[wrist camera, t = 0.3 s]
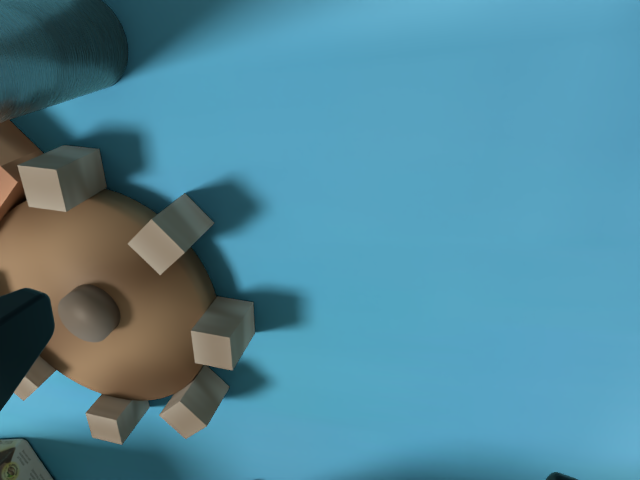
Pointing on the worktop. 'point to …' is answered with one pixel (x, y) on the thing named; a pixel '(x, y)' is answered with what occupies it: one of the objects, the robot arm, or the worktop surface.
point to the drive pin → (56, 52)
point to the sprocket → (116, 290)
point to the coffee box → (20, 462)
